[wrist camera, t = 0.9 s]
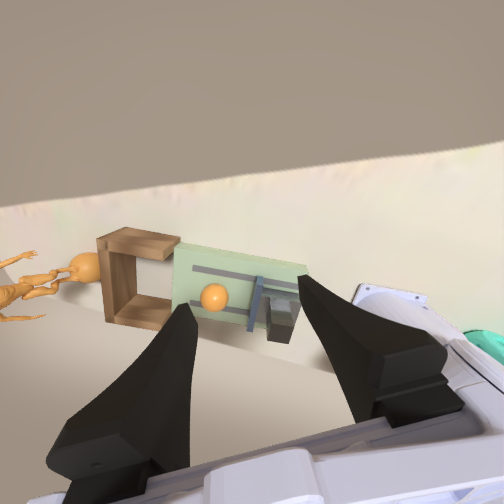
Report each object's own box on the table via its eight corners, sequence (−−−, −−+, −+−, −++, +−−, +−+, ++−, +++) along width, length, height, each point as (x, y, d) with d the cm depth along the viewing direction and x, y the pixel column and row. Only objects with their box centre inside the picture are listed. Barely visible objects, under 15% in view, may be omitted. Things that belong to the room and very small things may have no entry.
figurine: (114, 289, 30) (26, 359, 19) (72, 278, 30) (-42, 343, 18) (115, 238, 27) (12, 284, 16) (69, 225, 27) (-70, 264, 15)
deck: (305, 265, 27) (308, 272, 25) (287, 323, 31) (289, 333, 29) (180, 242, 27) (173, 247, 25) (176, 303, 30) (170, 313, 28)
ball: (232, 281, 26) (228, 296, 23) (228, 303, 28) (224, 320, 24) (205, 276, 26) (197, 291, 23) (203, 298, 27) (195, 315, 24)
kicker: (302, 283, 25) (312, 311, 20) (288, 326, 28) (294, 361, 23) (257, 275, 25) (256, 301, 20) (247, 319, 28) (244, 352, 23)
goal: (180, 237, 26) (163, 250, 22) (176, 307, 31) (161, 331, 26) (125, 226, 26) (96, 238, 22) (129, 299, 30) (105, 322, 26)
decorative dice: (432, 361, 33) (482, 417, 25) (465, 323, 30) (533, 374, 22) (475, 373, 33) (537, 431, 26) (512, 337, 30) (594, 391, 23)
